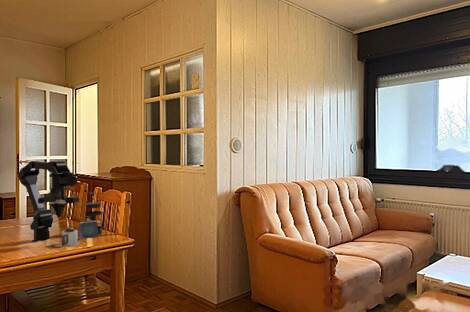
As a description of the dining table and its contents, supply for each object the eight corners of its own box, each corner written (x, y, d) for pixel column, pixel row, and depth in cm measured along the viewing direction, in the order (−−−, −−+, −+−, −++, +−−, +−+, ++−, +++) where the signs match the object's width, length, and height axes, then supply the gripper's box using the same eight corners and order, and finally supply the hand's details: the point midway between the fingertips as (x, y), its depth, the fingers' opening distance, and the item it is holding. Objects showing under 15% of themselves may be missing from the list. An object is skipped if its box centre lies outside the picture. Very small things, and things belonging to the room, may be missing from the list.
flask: (79, 240, 184) (79, 219, 184) (78, 239, 187) (78, 218, 187) (98, 238, 189) (97, 217, 189) (97, 237, 191) (96, 217, 191)
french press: (83, 236, 193) (83, 193, 193) (82, 233, 202) (81, 192, 201) (106, 233, 199) (106, 192, 199) (104, 230, 207) (103, 191, 207)
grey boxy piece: (55, 246, 169) (55, 233, 169) (67, 242, 178) (66, 229, 178) (69, 247, 168) (69, 233, 168) (80, 242, 177) (79, 229, 177)
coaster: (53, 247, 170) (53, 246, 170) (66, 242, 180) (65, 241, 180) (73, 248, 169) (73, 246, 169) (84, 242, 179) (84, 241, 179)
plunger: (63, 241, 172) (63, 228, 172) (68, 239, 176) (67, 227, 176) (71, 241, 172) (70, 228, 172) (75, 239, 176) (75, 227, 176)
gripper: (30, 187, 172) (30, 219, 172) (66, 187, 170) (67, 220, 170) (44, 185, 183) (45, 216, 183) (79, 185, 181) (79, 216, 181)
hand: (58, 217), depth 179 cm, fingers closed
